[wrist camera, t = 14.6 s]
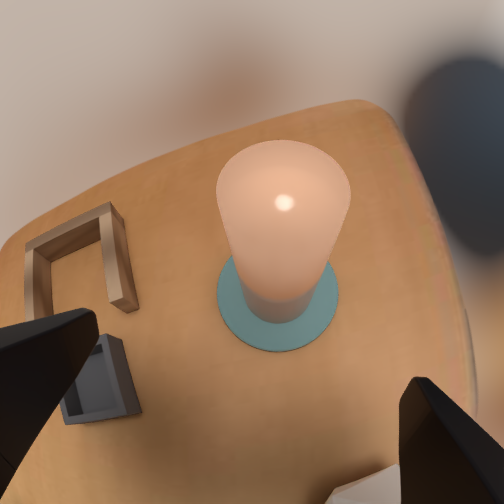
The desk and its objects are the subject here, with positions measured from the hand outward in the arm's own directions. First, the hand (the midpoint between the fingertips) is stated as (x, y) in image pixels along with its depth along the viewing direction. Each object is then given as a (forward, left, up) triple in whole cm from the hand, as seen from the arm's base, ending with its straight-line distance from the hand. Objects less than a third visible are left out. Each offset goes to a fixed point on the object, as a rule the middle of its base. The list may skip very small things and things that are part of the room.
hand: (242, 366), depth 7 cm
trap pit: (-11, +6, -14) cm, 19 cm away
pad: (+5, +5, -14) cm, 15 cm away
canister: (+5, +5, -13) cm, 15 cm away
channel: (-9, +15, -14) cm, 22 cm away
